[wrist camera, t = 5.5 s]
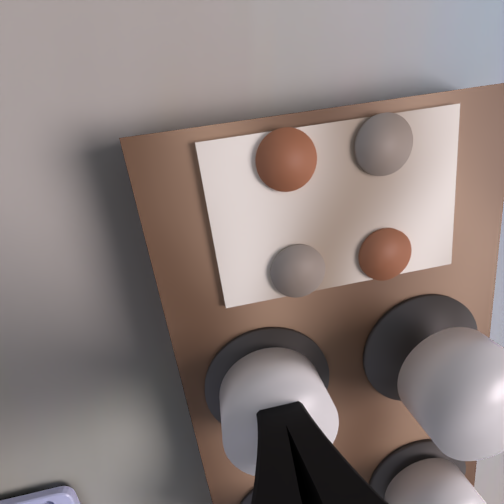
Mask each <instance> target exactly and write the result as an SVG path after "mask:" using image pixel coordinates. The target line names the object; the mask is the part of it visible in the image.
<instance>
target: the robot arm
mask: <svg viewBox="0 0 504 504" xmlns="http://www.w3.org/2000/svg"><path fill="white" fill-rule="evenodd" d="M256 416H257V426H258V444H257V460H256V470H255V480H254V488H253V494H252V501H251V504H388V503H387V502H386V501H385V500H384V499H383V498H382V497H381V496H380V495H379V494H378V493H377V492H376V491H375V490H374V489H373V488H372V487H371V486H370V485H369V484H368V483H367V482H366V481H365V480H364V479H363V477H362V476H361V475H360V474H359V473H358V472H357V471H356V470H355V469H354V468H353V467H352V466H351V465H350V464H349V462H348V461H347V460H346V459H345V458H344V457H343V456H342V454H341V453H340V452H339V451H338V450H337V449H336V447H335V446H334V445H333V444H332V443H331V442H330V440H329V439H328V438H327V437H326V435H325V434H324V433H323V432H322V430H321V429H320V428H319V426H318V425H317V424H316V422H315V421H314V420H313V418H312V417H311V416H310V414H309V413H308V411H307V410H306V408H305V407H304V405H303V403H301V402H299V401H297V402H293V403H288V404H284V405H280V406H276V407H271V408H267V409H262V410H259V411H258V412H257V414H256ZM0 504H80V501H79V499H78V497H77V495H76V492H75V491H74V490H73V488H71V487H69V486H59V487H55V488H51V489H47V490H43V491H38V492H34V493H30V494H26V495H22V496H17V497H13V498H9V499H5V500H1V501H0Z"/></svg>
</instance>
